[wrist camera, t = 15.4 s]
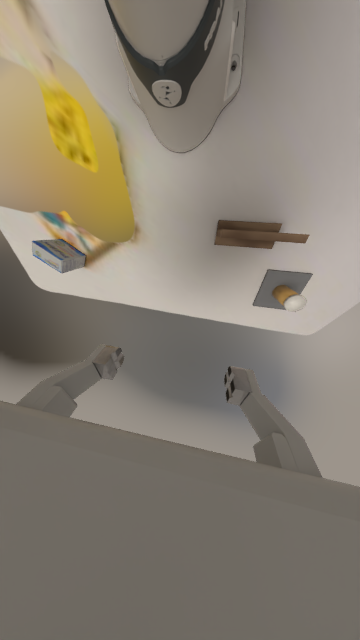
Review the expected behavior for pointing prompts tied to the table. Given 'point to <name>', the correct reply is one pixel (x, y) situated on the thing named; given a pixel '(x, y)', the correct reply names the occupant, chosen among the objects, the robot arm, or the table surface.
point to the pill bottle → (289, 298)
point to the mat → (275, 279)
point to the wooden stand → (253, 234)
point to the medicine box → (58, 254)
